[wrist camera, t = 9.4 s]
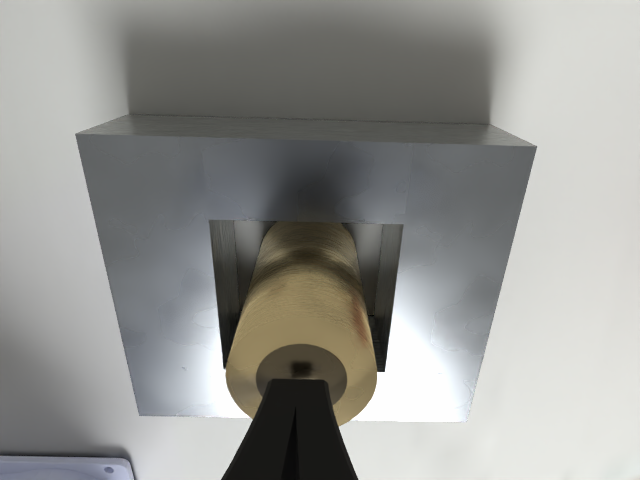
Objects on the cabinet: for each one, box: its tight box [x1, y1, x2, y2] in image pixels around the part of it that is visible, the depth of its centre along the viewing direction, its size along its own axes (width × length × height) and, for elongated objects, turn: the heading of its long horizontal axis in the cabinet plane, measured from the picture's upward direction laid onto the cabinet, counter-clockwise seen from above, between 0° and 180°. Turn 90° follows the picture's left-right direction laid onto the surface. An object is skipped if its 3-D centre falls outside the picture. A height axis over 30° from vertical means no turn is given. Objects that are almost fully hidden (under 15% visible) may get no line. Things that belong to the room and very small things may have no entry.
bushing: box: [225, 221, 378, 426], centre depth 14 cm, size 4×4×7 cm
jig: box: [75, 115, 537, 422], centre depth 15 cm, size 13×11×4 cm
